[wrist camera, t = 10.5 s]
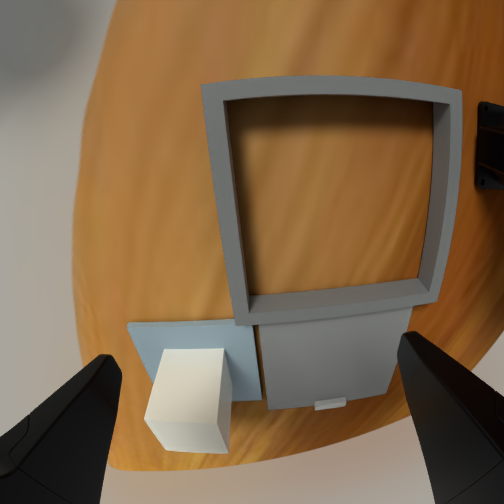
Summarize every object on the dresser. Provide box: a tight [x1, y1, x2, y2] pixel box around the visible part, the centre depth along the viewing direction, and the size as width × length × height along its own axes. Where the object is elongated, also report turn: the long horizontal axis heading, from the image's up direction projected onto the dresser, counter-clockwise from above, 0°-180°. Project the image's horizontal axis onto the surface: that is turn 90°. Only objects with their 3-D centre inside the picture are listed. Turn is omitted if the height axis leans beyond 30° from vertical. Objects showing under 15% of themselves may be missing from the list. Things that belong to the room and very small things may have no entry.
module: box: [144, 348, 232, 454], centre depth 21 cm, size 5×5×7 cm
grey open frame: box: [201, 76, 462, 410], centre depth 20 cm, size 15×27×2 cm, turn 5°
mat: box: [127, 319, 262, 401], centre depth 24 cm, size 10×10×1 cm
